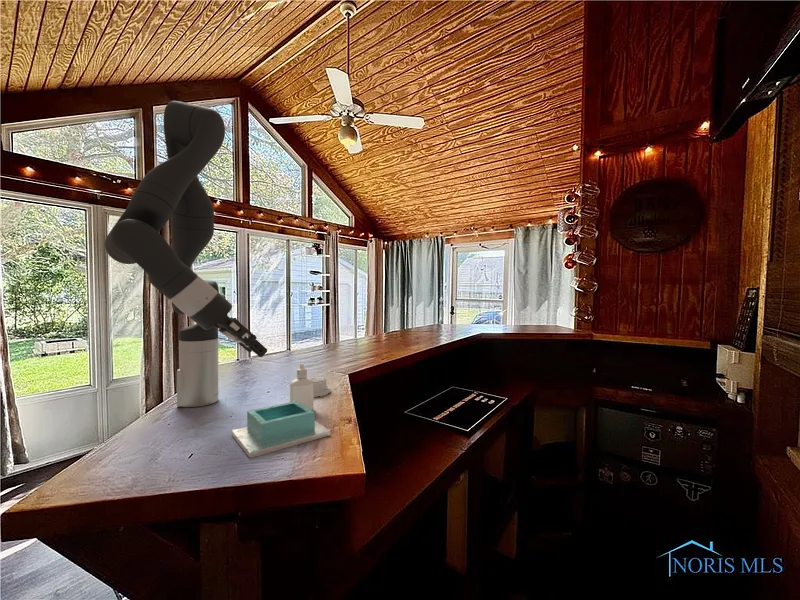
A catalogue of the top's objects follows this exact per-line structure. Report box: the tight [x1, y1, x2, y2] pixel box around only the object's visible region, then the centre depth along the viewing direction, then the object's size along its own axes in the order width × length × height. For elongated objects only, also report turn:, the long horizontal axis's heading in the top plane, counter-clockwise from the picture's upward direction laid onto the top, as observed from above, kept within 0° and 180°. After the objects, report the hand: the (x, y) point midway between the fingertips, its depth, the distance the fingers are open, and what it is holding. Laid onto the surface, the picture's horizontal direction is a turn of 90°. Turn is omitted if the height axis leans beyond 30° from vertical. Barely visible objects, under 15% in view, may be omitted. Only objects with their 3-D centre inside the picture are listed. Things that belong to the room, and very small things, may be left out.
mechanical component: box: [307, 376, 331, 398], centre depth 103 cm, size 10×4×10 cm
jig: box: [231, 401, 331, 459], centre depth 72 cm, size 16×13×5 cm
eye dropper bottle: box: [289, 363, 314, 411], centre depth 86 cm, size 4×6×12 cm
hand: (258, 351), depth 80 cm, fingers open, 8 cm apart
